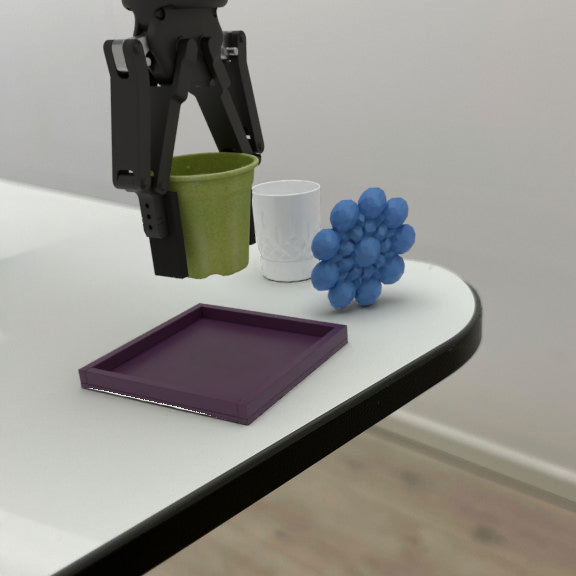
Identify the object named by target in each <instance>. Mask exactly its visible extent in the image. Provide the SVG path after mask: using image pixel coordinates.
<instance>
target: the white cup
mask: <svg viewBox="0 0 576 576" xmlns="http://www.w3.org/2000/svg"><path fill="white" fill-rule="evenodd" d="M321 188H322V187H321V184H320V183H318V182H316V181H312V180H304V179H282V180H272V181H266V182H262V183H258V184H254V185H252V194H253V196H252V206H253V216H254V226H255V236H256V244H257V250H258V252H259V255H260V265H261V273H262V276H264V277H265V278H266V279H267V280H271V281H276V282H288V283H289V282H298V281H299V282H300V281H305V280H309V279H310V278H311V272H312V270H313V269H314V267H315V266H316V264H317V263H319V262H320V261H321V260H320V261H319V260H318V259H316V258H315V257H314V255H313V253H312V250H311V244H312V240H313V239H314V237H315V235H316V234H317V233H318V232H319V231H321V230H322V203H321V202H322V200H321V199H322V197H321V194H322V193H321V191H322V189H321Z"/></svg>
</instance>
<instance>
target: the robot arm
mask: <svg viewBox="0 0 576 576" xmlns="http://www.w3.org/2000/svg"><path fill="white" fill-rule="evenodd" d="M228 2H229V0H121V4H122V6H123V8H124V9H125V10H127V11H129V12H131V13H133V16H134V27H133V32H132V36H130V37H127V38H119V39H118V38H117V39H106V40H104V42H103V44H102V45H103V46H102V48H103V49H102V51H103V55H104V58H105V62H106V67H107V71H108V74H109V83H110V84H109V85H110V88H109V89H110V90H109V91H110V132H111V133H110V135H111V179H112V180H111V181H112V185H113V187H114V188H115V189H117V190H123V191H125V192H127V193H135V194H136V196H137V198H138V203H139V204H138V205H139V209H140V214H141V222H142V228H143V233H144V234H145V237H146V238H148V240H149V247H150V254H151V260H152V266H153V272H154V276H157V277H163V278H164V277H165V278H172V279H178V280H179V279H181V280H184V279H186V278H188V276H189V273H188V266H187V259H186V252H185V245H184V238H183V230H182V223H181V216H180V209H179V202H178V194H177V192H173V191H167V190H168V186H169V179H170V173H171V166H172V160H173V156H174V152H175V146H176V140H177V133H178V126H179V120H180V114H181V107H182V104H183V103H185V102H186V101H187V100H188V96H189V94H191V95H192V96H193V97H194V98H195V99H196V102H197V104H198V106H199V109H200V111H201V113H202V116H203V118H204V121H205V123H206V125H207V128H208V130H209V131H210V134H211V137H212V139H213V141H214V144H215V146H216V148H217V150H218V151H217V152H235V153H244V154H250V155H254V156H256V157H257V158H258V160H259V164H258V166H260V165H261V162H262V154H263V153H264V152H265V151H264V150H265V141H264V136H263V131H262V126H261V122H260V117H259V111H258V107H257V103H256V97H255V94H254V89H253V83H252V79H251V75H250V70H249V65H248V55H247V54H248V53H247V52H248V51H247V48H248V47H247V36H246V33H245V31H243V30H223V29H222V26H221V23H220V21H219V17H218V13H217V12H218V9H219V8H224V7H226V5H227V4H228ZM248 136H249V138H248ZM151 171H153V173H154V176H151ZM252 187H253V185H252V186H251V201H250V234H249V246H253V245H255V244H257V237H256V232H255V226H254V216H253V206H252V196H253V194H252Z"/></svg>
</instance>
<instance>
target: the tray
mask: <svg viewBox="0 0 576 576" xmlns="http://www.w3.org/2000/svg"><path fill="white" fill-rule="evenodd" d="M348 335H349V334H348V324H341V323H335V322H328V321H322V320H316V319H309V318H302V317H296V316H290V315H289V316H288V315H283V314H275V313H271V312H270V313H269V312H264V311H263V312H262V311H256V310H250V309H243V308H236V307H229V306H223V305H216V304H211V303H202V302H198V303H197V304H195V305H193V306H191V307H189V308H188V309H186V310H184V311H182V312H180V313H179V314H177V315H175V316H173V317H171V318H169V319H168V320H165V321H164V322H162V323H160V324H158V325H156V326H155V327H152V328H151V329H149V330H148V331H146V332H144V333H142V334H140V335H139V336H137V337H134V338H133V339H131V340H129V341H127V342H126V343H123V344H122V345H120V346H118V347H116V348H115V349H113V350H111V351H109V352H107V353H105V354H104V355H102V356H100V357H98V358H97V359H95V360H92V361H91V362H89V363H87V364H86V365H84V366H82V367H80V368H78V369H77V373H78V375H79V376H78V377H79V381H80V387H81V388H82V387H84V388H83V389H85V388H93V389H98V390H104V391H109V392H113V393H118V394H121V395H126V396H131V397H135V398H140V399H143V400H144V399H145V400H149V401H154V402H157V403H162V404H163V403H164V404H167V405H172V406H177V407H181V408H184V409H188V410H192V411H195V412H196V411H197V412H199V413H200V412H201V413H205V414H207V415H211V416H213V417H212V418H214V417H217V418H216V419H218V418H223V419H225V420H224V421H227V420H229V421H228V422H232V421H234V422H233V423H236V422H239V423H238V424H240V423H242V424H241V425H245V424H246V425H245V426H249V425H250V424H251V423H253V422H254V421H255V420H256V419H257V418H259V417H260V416H261V415H262V414H264V413H265V412H266V411H267V410H268V409H269V408H271V407H272V406H273V405H274V404H275V403H276V402H278V401H279V400H280V399H281V398H282V397H284V396H285V395H286V394H287V393H289V392H290V391H291V390H292V389H294V388H295V387H296V386H297V385H298V384H299V383H301V382H303V380H304V379H305V378H307V377H308V376H309V375H310V374H311V373H313V372H314V371H315V370H316V369H317V368H319V367H320V366H321V365H322V364H323V363H325V362H326V361H327V360H329V358H331V357H332V356H333V355H334V354H335V353H337V352H338V351H339V350H340V349H341V348H342V347H345V345H346V344H348V342H349V336H348ZM289 390H290V391H289ZM285 393H286V394H285ZM284 394H285V395H284ZM283 395H284V396H283ZM277 400H278V401H277ZM271 405H272V406H271ZM223 419H222V420H223Z"/></svg>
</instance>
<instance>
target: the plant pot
mask: <svg viewBox="0 0 576 576" xmlns="http://www.w3.org/2000/svg"><path fill="white" fill-rule="evenodd" d="M258 164H259V160H258V158H257V157H256V156H254V155H250V154H244V153H235V152H219V151H217V152H216V151H214V152H213V151H210V152H209V151H208V152H195V153H187V154H179V155H173V160H172V166H171V173H170V179H169V186H168V190H167V191H173V192H177V194H178V202H179V209H180V216H181V223H182V230H183V238H184V245H185V252H186V259H187V266H188V273H189V276H188V277H187V278H189V279H194V280H203V279H207V278H208V277H211V276H214V275H218V276H219V275H220V276H222V277H228V276H232V275H234V274H236V273H239V272H241V271H243V270H245V269H246V268H247V267H248V266H249V264H250V263H249V262H250V245H249V234H250V201H251V186H252V187H253V185H254V180H255V168H257V167H258V166H259V165H258ZM151 176H154V173H153V171H151Z"/></svg>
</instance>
